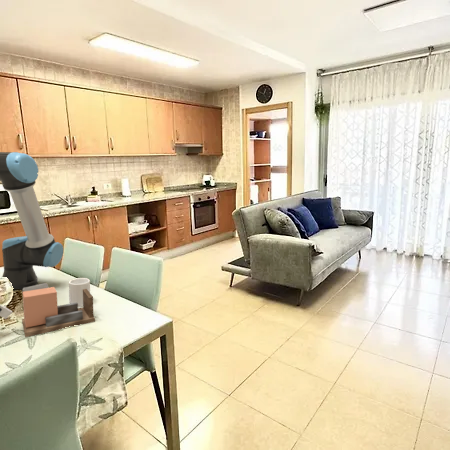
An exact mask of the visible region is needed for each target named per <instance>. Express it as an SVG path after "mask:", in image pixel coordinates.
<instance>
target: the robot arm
mask: <svg viewBox="0 0 450 450" xmlns="http://www.w3.org/2000/svg"><path fill="white" fill-rule="evenodd" d="M38 177H39V166H38V164H37V162H36V160H35V159H34V158H33V157H32V156H31V155H29V154H27V153H24V152H22V153H21V152H17V151H13V152H11V151H0V182H1V185H2V188H3V189H4V190H5V191H7V192H9V194H10V197H11V199H12V201H13V204H14V207H15V210H16V213H17V215H18V217H19V220H20V223H21V225H22V228H23V231H24V234H25V235H24V236H16V237H10V238H7V239H4V240H3V241H2V244H1V246H2V247H1V250H2V251H1V253H2V260H3V261H2V262H3V272H2V276H1V278H2V277H7V278H8V279H9V280H10V282H11V283H12V286H13V288H14V289H20V290H23V288H26V287H30V286H35V285H38V283H39V280H38V276H37V273H36V272H35V269H34V267H43V268H53V267H55V266H58V264H59V263H60V262H61V261H62V258H63V255H64V245H63V244H62V243H61V242H58V241H57V242H56V241H55V237H54V235H53V234H51V233H49V231H48V227H47V224H46V222H45V219H44V216H43V213H42V209H41V207H40V204H39V200H38V198H37V195H36V192H35V189H34V188H35V187H34V186H35V185H36V180H37V179H38ZM12 313H13V311H12V310H11V309H9V308H8V307H6V306H5V305H2V304H1V303H0V317H1V318H3V319H5V320H6V319H8V317H9V316H11V315H12Z"/></svg>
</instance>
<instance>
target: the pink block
mask: <svg viewBox="0 0 450 450" xmlns="http://www.w3.org/2000/svg"><path fill="white" fill-rule="evenodd" d="M57 306H58V292H57V290H56V287H55V286H52V287H48V288H44V289H37V290H31V291H24V292H23V291H22V307H23V319H24V322H25V326H26V328H27V327H32V326H36V325H41V324H46V320H45V317H50V316H55V315H58V308H57Z"/></svg>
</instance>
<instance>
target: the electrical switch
mask: <svg viewBox="0 0 450 450" xmlns="http://www.w3.org/2000/svg"><path fill="white" fill-rule="evenodd" d="M44 288H49V285H48V283H46V282H45V283H40V284H36V285H35V286H30V287H26V288H23V289H21V290H22V293H23V292H24V291H31V290H37V289H44Z"/></svg>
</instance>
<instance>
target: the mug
mask: <svg viewBox="0 0 450 450" xmlns="http://www.w3.org/2000/svg"><path fill="white" fill-rule="evenodd" d="M83 289H87V290H88V291H89V292H90V293H91V280H90V279H89V278H87V277H77V278H73V279H71V280H69V282H68V290H69V291H68V297H69V304H71V303H76V302H77V303H78V308H80V307H83Z"/></svg>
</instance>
